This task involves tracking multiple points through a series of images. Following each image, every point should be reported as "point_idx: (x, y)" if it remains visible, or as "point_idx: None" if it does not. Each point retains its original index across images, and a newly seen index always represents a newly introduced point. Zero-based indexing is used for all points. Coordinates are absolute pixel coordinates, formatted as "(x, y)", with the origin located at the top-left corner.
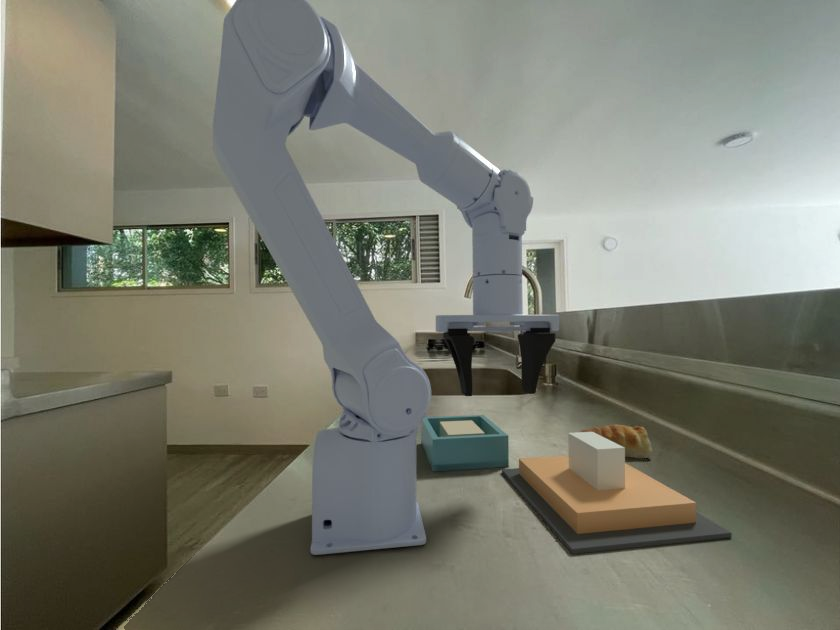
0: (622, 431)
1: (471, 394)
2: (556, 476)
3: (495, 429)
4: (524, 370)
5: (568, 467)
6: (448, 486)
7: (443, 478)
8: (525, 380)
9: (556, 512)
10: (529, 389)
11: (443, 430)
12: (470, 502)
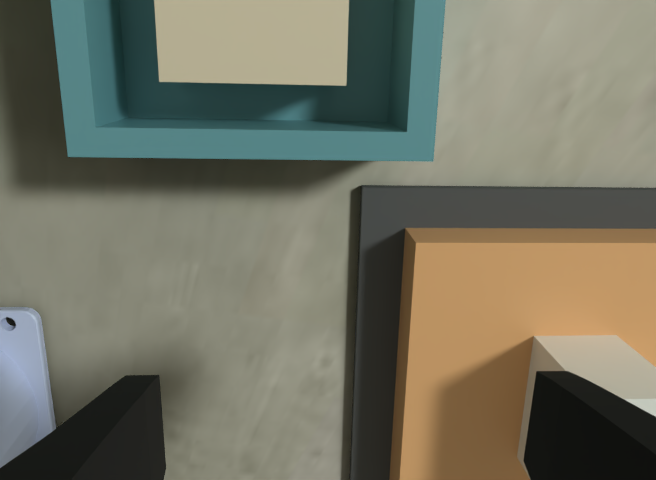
0: None
1: (161, 475)
2: (460, 379)
3: (412, 62)
4: (608, 476)
5: (538, 328)
6: (154, 250)
7: (146, 195)
8: (565, 449)
9: (392, 429)
10: (534, 468)
11: None
12: (201, 342)
